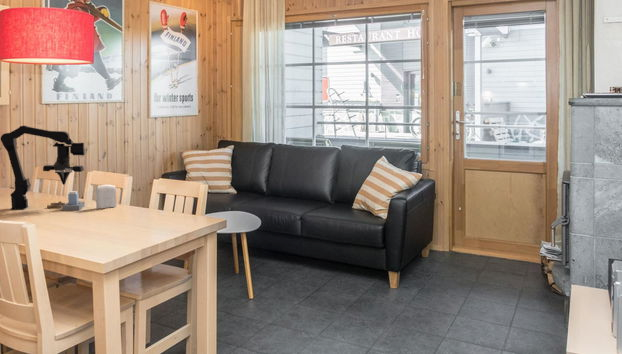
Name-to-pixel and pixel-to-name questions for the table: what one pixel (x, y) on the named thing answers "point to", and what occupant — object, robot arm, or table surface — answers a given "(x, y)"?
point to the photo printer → (105, 196)
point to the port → (73, 206)
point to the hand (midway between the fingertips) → (63, 184)
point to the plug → (73, 198)
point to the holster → (56, 205)
